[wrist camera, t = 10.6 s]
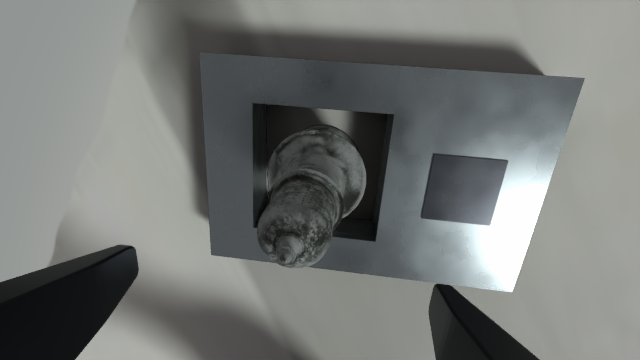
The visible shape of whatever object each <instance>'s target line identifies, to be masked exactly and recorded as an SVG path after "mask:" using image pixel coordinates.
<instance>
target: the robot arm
mask: <svg viewBox="0 0 640 360" xmlns="http://www.w3.org/2000/svg"><path fill="white" fill-rule="evenodd" d="M138 270H139V268H138V262H137V255H136V250H135V248H134V247H133V246H128V245H117V246H114V247H110V248H107V249H104V250H101V251H98V252H95V253H91V254H88V255H85V256H82V257H79V258H76V259H73V260H69V261H66V262H63V263H60V264H57V265H54V266H50V267H47V268H44V269H41V270H38V271H35V272H31V273H28V274H25V275H22V276H19V277H16V278H13V279H9V280H6V281H3V282H0V360H75V359H76V358H77V357H78V355H79V354H80V353H81V352H82V351H83V349H84V348H85V347H86V346H87V344H88V343H89V342H90V341H91V340H92V338H93V337H94V336H95V335H96V333H97V332H98V331H99V330H100V328H101V327H102V326H103V325H104V323H105V322H106V321H107V319H108V318H109V316H110V315H111V314H112V312H113V311H114V309H115V308H116V306H117V305H118V303H119V302H120V300H121V299H122V298H123V296H124V295H125V293H126V292H127V290H128V289H129V287H130V286H131V284H132V283H133V281H134V280H135V278H136V277H137V275H138ZM429 319H430V326H431V332H432V338H433V344H434V351H435V357H436V360H539V359H538V358H537V357H536V356H535V355H533V354H532V353H531V352H530V351H529V350H527V349H526V348H525V347H524V346H523V345H521V344H520V343H519V342H518V341H517V340H515V339H514V338H513V337H512V336H511V335H509V334H508V333H507V332H506V331H505V330H504V329H502V328H501V327H500V326H499V325H498V324H496V323H495V322H494V321H493V320H492V319H490V318H489V317H488V316H487V315H486V314H484V313H483V312H482V311H481V310H480V309H478V308H477V307H476V306H475V305H474V304H472V303H471V302H470V301H469V300H468V299H466V298H465V297H464V296H463V295H462V294H460V293H459V292H458V291H457V290H456V289H454V288H453V287H452V286H450V285H445V284H436V285H435V286H434V288H433V292H432V296H431V300H430V305H429Z"/></svg>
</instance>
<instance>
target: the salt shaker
mask: <svg viewBox="0 0 640 360" xmlns="http://www.w3.org/2000/svg"><path fill="white" fill-rule="evenodd" d="M267 179H268V187H269V189H270V191H269V194H268V206H267V208H266V209H265V211H264V212H263V213H262V215H261V217H260V220H259V222H258V228H257V238H258V243H259V245H260V247H261V249H262V251H263V252H264V253H265V254H266V256H267V257H269V258H270V259H271V260H272V261H274V262H275V263H277V264H279V265H281V266H285V267H289V268H303V267H307V266H310V265H312V264H314V263H316V262H318V261H319V260H320V259H321V258H322V257H323V256H324V255H325V253H326V251H327V250H328V248H329V246H330V243H331V239H332V232H333V230H334V229H335V228H336V227H337V226H338V224H339V223H340V221H341V219H342V218H344V217H345V216H347V215H349V214H350V213H351V212H352V211H353V210H354V209H355V208H356V207H357V205H358V204H359V202H360V200H361V199H362V197H363V194H364V191H365V187H366V170H365V166H364V163H363V160H362V158H361V156H360V154H359V152H358V149H357V147H356V145H355V144H354V142H353V140H352V139H351V138H350V137H349V136H348V135H347V134H346V133H344V132H343V131H341V130H339V129H337V128H335V127H330V126H326V125H321V126H313V127H310V128H307V129H304V130H303V131H300V132H297V133H294V134H292V135H291V136H289V137H288V138H286V139H285V140H283V141H282V142H281V143H280V144H279V145H278V147H277V148H276V149H275V150H274V152H273V154H272V156H271V158H270V161H269V164H268V171H267Z"/></svg>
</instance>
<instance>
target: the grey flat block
mask: <svg viewBox="0 0 640 360" xmlns="http://www.w3.org/2000/svg"><path fill="white" fill-rule="evenodd" d="M199 59H200V75H201V92H202V109H203V125H204V142H205V159H206V175H207V192H208V209H209V225H210V242H211V255H216V256H224V257H232V258H240V259H248V260H256V261H264V262H272V263H275V262H274V261H272V260H271V259H270V258H269V257H267V256H266V254H265V253H264V252H263V251H262V249H261V247H260V245H259V243H258V238H257V228H258V222H259V220H260V217H261V215H262V213H263V212H264V211H265V209H266V138H267V104H271V105H284V106H296V107H309V108H321V109H334V110H346V111H358V112H371V113H383V114H388V116H387V123H386V130H385V137H384V145H383V152H382V159H381V166H380V173H379V180H378V188H377V195H376V202H375V209H374V216H373V221H371V220H362V219H353V218H342V219H341V221H340V223H339V224H338V226H337V227H336V228H335V229H334V230H333V232H332V239H331V243H330V246H329V248H328V250H327V251H326V253H325V255H324V256H323V257H322V258H321V259H320V260H319V261H318V262H316V263H314V264H312V265H310V266H307V267H313V268H321V269H329V270H337V271H345V272H353V273H361V274H369V275H377V276H385V277H393V278H401V279H409V280H418V281H426V282H434V283H442V284H450V285H458V286H466V287H474V288H482V289H490V290H498V291H506V292H512V291H513V288H514V285H515V282H516V279H517V276H518V274H519V271H520V268H521V265H522V262H523V259H524V256H525V253H526V250H527V247H528V244H529V241H530V238H531V235H532V232H533V229H534V226H535V223H536V220H537V217H538V215H539V212H540V209H541V206H542V203H543V200H544V197H545V194H546V191H547V188H548V185H549V182H550V179H551V176H552V173H553V170H554V167H555V164H556V161H557V158H558V156H559V153H560V150H561V147H562V144H563V141H564V138H565V135H566V132H567V129H568V126H569V123H570V120H571V117H572V114H573V111H574V108H575V105H576V102H577V99H578V97H579V94H580V91H581V88H582V85H583V82H584V79H585V78H575V77H560V76H545V75H530V74H515V73H501V72H486V71H471V70H456V69H441V68H426V67H412V66H397V65H382V64H367V63H352V62H338V61H323V60H308V59H293V58H278V57H263V56H249V55H234V54H219V53H204V52H199Z"/></svg>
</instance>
